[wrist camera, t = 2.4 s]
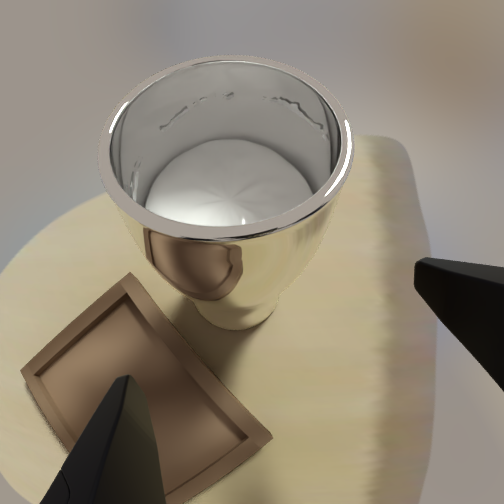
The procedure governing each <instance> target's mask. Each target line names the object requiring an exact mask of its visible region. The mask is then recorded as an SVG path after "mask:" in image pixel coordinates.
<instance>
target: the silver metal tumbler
mask: <svg viewBox="0 0 504 504" xmlns="http://www.w3.org/2000/svg"><path fill="white" fill-rule="evenodd" d="M353 157H354V136H353V131H352V127H351V124H350V121H349V119H348V117H347V114H346V113H345V111H344V109H343V107H342V106H341V104H340V103H339V101H338V100H337V99H336V98H335V97H334V95H333V94H332V93H331V92H330V91H328V89H327V88H325V87H324V86H323V85H322V84H321V83H319V82H318V81H317V80H315V79H314V78H312V77H311V76H309V75H307V74H306V73H304V72H302V71H300V70H298V69H296V68H293V67H291V66H289V65H286V64H283V63H280V62H277V61H274V60H269V59H265V58H260V57H253V56H244V55H219V56H210V57H203V58H198V59H193V60H189V61H186V62H183V63H179V64H177V65H174V66H171V67H169V68H166V69H164V70H162V71H160V72H158V73H156V74H154V75H152V76H151V77H149V78H147V79H146V80H144V81H143V82H141V83H140V84H139V85H137V86H136V87H135V88H134V89H132V90H131V91H130V92H129V93H128V94H127V95H126V96H125V97H124V98H123V99H122V100H121V101H120V102H119V103H118V105H117V106H116V107H115V108H114V110H113V111H112V113H111V114H110V116H109V118H108V119H107V122H106V124H105V126H104V128H103V130H102V133H101V137H100V140H99V145H98V168H99V173H100V177H101V180H102V183H103V185H104V187H105V189H106V191H107V193H108V194H109V196H110V197H111V199H112V200H113V201H114V203H115V205H116V207H117V209H118V211H119V213H120V215H121V217H122V219H123V221H124V223H125V225H126V227H127V229H128V231H129V233H130V234H131V236H132V238H133V240H134V242H135V243H136V245H137V247H138V248H139V249H140V251H141V252H142V254H143V255H144V257H145V258H146V260H147V261H148V262H149V264H150V265H151V266H152V268H153V269H154V270H155V271H156V272H157V273H158V274H159V275H160V276H161V277H162V278H163V279H164V280H165V281H166V282H167V283H168V284H169V285H170V286H171V287H172V288H173V289H174V290H176V291H177V292H179V293H180V294H182V295H183V296H185V297H187V298H188V299H190V300H192V301H193V302H194V304H195V306H196V308H197V310H198V311H199V312H200V314H201V315H202V316H203V317H204V318H205V319H206V320H207V321H209V322H210V323H212V324H213V325H215V326H218V327H220V328H223V329H228V330H243V329H248V328H251V327H254V326H256V325H258V324H259V323H261V322H262V321H264V320H265V319H266V318H267V317H268V316H269V315H270V314H271V313H272V311H273V310H274V308H275V307H276V305H277V302H278V299H279V296H280V294H281V293H282V292H283V291H284V290H286V289H287V288H288V287H289V286H291V285H292V284H293V283H294V282H295V281H296V280H297V279H298V277H299V276H300V275H301V274H302V273H303V271H304V270H305V268H306V267H307V265H308V264H309V263H310V261H311V260H312V258H313V257H314V255H315V253H316V252H317V250H318V248H319V246H320V244H321V242H322V240H323V238H324V235H325V233H326V231H327V229H328V227H329V224H330V221H331V219H332V216H333V213H334V211H335V208H336V205H337V202H338V199H339V196H340V193H341V190H342V187H343V184H344V182H345V181H346V179H347V176H348V174H349V172H350V169H351V166H352V162H353Z"/></svg>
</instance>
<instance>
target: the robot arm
mask: <svg viewBox="0 0 504 504" xmlns="http://www.w3.org/2000/svg"><path fill="white" fill-rule="evenodd" d="M414 287H415V289H416V291H417V292H418V293H419V295H420V296H421V297H422V298H423V299H424V301H425V302H426V303H427V304H428V306H429V307H430V308H431V309H432V311H433V312H434V313H435V314H436V316H437V317H438V318H439V319H440V321H441V322H442V323H443V324H444V325H445V326H446V327H447V328H448V329H449V330H450V331H451V333H452V334H453V335H454V336H455V337H456V338H457V339H458V340H459V341H460V342H461V343H462V344H463V345H464V347H465V348H466V349H467V350H468V351H469V352H470V353H471V354H472V355H473V356H474V357H475V359H476V360H477V361H478V362H479V363H480V364H481V365H482V367H483V368H484V369H485V370H486V371H487V372H488V373H489V375H490V376H491V377H492V378H493V379H494V381H495V382H496V383H497V384H498V385H499V387H500V388H501V389H502V390H503V391H504V267H497V266H490V265H483V264H475V263H467V262H460V261H451V260H444V259H435V258H428V257H425V258H422V259H420V260H419V261H417V262H416V263H415V267H414ZM40 504H167V503H166V498H165V493H164V487H163V481H162V475H161V468H160V461H159V454H158V448H157V442H156V438H155V434H154V430H153V425H152V421H151V417H150V412H149V407H148V403H147V398H146V396H145V394H144V392H143V391H142V389H141V388H140V386H139V385H138V384H137V382H136V381H135V379H134V378H133V377H132V376H131V375H130V374H126V375H123V376H119V377H117V378H116V379H115V380H114V382H113V383H112V385H111V387H110V388H109V390H108V391H107V393H106V394H105V396H104V398H103V399H102V401H101V402H100V404H99V406H98V407H97V409H96V410H95V412H94V414H93V415H92V417H91V419H90V420H89V422H88V423H87V425H86V427H85V428H84V430H83V432H82V433H81V435H80V437H79V438H78V440H77V442H76V443H75V445H74V447H73V448H72V450H71V452H70V453H69V455H68V457H67V459H66V460H65V462H64V464H63V465H62V467H61V470H60V471H59V472H58V474H57V476H56V478H55V479H54V481H53V483H52V484H51V486H50V488H49V489H48V491H47V493H46V494H45V496H44V497H43V499H42V501H41V502H40Z"/></svg>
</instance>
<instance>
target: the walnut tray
mask: <svg viewBox="0 0 504 504" xmlns="http://www.w3.org/2000/svg"><path fill="white" fill-rule="evenodd" d="M20 371H21V373H22V375H23V377H24V379H25V381H26V383H27V385H28V387H29V389H30V390H31V392H32V394H33V396H34V398H35V400H36V401H37V403H38V405H39V406H40V408H41V410H42V412H43V413H44V415H45V416H46V418H47V420H48V421H49V423H50V424H51V426H52V428H53V429H54V431H55V432H56V434H57V435H58V437H59V438H60V440H61V441H62V442H63V444H64V445H65V447H66V448H67V449H68V451H69V452H71V450H72V448H73V447H74V445H75V443H76V442H77V440H78V438H79V437H80V435H81V433H82V432H83V430H84V428H85V427H86V425H87V423H88V422H89V420H90V419H91V417H92V415H93V414H94V412H95V410H96V409H97V407H98V406H99V404H100V402H101V401H102V399H103V398H104V396H105V394H106V393H107V391H108V390H109V388H110V387H111V385H112V383H113V382H114V380H115V379H116V378H117V377H119V376H123V375H126V374H130V375H131V376H132V377H133V378H134V379H135V381H136V382H137V384H138V385H139V386H140V388H141V389H142V391H143V392H144V394H145V396H146V398H147V403H148V407H149V412H150V417H151V421H152V425H153V430H154V434H155V438H156V442H157V448H158V454H159V461H160V468H161V475H162V481H163V487H164V493H165V498H166V503H167V504H182V503H184V502H185V501H187V500H189V499H190V498H192V497H193V496H195V495H197V494H198V493H200V492H201V491H203V490H204V489H206V488H207V487H209V486H210V485H212V484H213V483H215V482H216V481H218V480H219V479H220V478H222V477H223V476H225V475H226V474H228V473H229V472H230V471H232V470H233V469H234V468H236V467H237V466H238V465H240V464H241V463H242V462H244V461H245V460H246V459H248V458H249V457H250V456H252V455H253V454H254V453H255V452H257V451H258V450H259V449H260V448H262V447H263V446H264V445H265V444H267V443H268V442H269V441H270V440H271V439H273V437H272V435H271V433H270V432H269V431H268V430H267V429H266V428H265V427H264V426H263V425H262V424H261V423H260V422H259V421H258V420H257V419H256V418H255V417H254V416H253V415H252V414H251V413H250V412H249V411H248V410H247V409H246V408H245V407H244V406H243V405H242V404H241V403H240V402H239V401H238V400H237V398H236V397H235V396H234V395H233V394H232V393H231V392H230V391H229V390H228V389H227V388H226V387H225V386H224V384H223V383H222V382H221V381H220V380H219V379H218V378H217V377H216V376H215V375H214V373H213V372H212V371H211V370H210V369H209V368H208V367H207V366H206V364H205V363H204V362H203V361H202V360H201V359H200V357H199V356H198V355H197V354H196V353H195V352H194V350H193V349H192V348H191V347H190V346H189V344H188V343H187V342H186V341H185V340H184V338H183V337H182V336H181V335H180V334H179V332H178V331H177V330H176V329H175V327H174V326H173V325H172V324H171V322H170V321H169V320H168V319H167V317H166V316H165V315H164V314H163V312H162V311H161V310H160V308H159V307H158V306H157V304H156V303H155V302H154V301H153V299H152V298H151V297H150V295H149V294H148V293H147V291H146V290H145V289H144V287H143V286H142V284H141V283H140V282H139V280H138V279H137V278H136V277H135V276H134V275H133V274H132V273H131V272H129V273H128V274H127V275H126V276H125V277H123V278H122V279H121V280H120V281H119V282H117V283H116V284H115V285H114V286H113V287H111V288H110V289H109V290H108V291H107V292H106V293H104V294H103V295H102V296H101V297H100V298H99V299H97V300H96V301H95V302H94V303H93V304H92V305H90V306H89V307H88V308H87V309H86V310H85V311H84V312H83V313H81V314H80V315H79V316H78V317H77V318H76V319H75V320H73V321H72V322H71V323H70V324H69V325H68V326H67V327H66V328H65V329H64V330H62V331H61V332H60V333H59V334H58V335H57V336H56V337H55V338H54V339H53V340H52V341H50V342H49V343H48V344H47V345H46V346H45V347H44V348H43V349H42V350H41V351H40V352H39V353H38V354H37V355H36V356H34V357H33V358H32V359H31V360H30V361H29V362H28V363H27V364H26V365H25V366H24V367H23V368H22V369H21V370H20Z"/></svg>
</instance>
